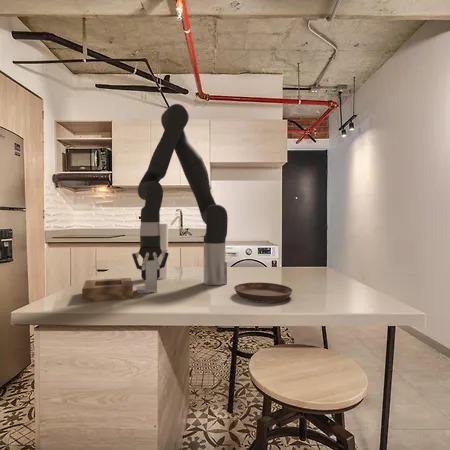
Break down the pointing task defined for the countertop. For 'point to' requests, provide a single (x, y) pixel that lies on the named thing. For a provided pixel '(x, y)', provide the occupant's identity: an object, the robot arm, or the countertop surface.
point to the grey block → (149, 278)
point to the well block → (107, 289)
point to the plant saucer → (263, 292)
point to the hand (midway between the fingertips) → (150, 279)
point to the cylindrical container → (163, 249)
